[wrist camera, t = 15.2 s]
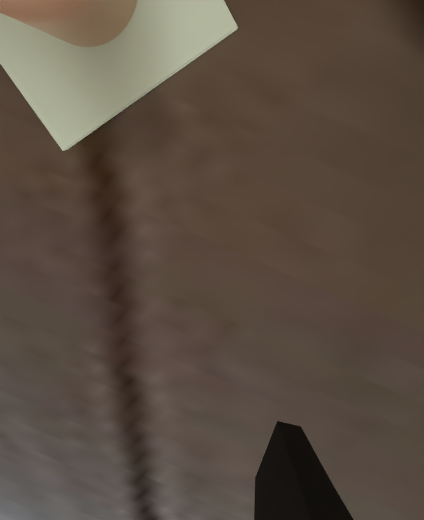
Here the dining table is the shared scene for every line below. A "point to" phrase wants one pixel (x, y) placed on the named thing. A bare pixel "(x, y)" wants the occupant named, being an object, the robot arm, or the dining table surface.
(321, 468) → the robot arm
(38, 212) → the dining table surface
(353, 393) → the dining table surface
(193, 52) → the mat
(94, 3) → the plug
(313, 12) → the dining table surface
